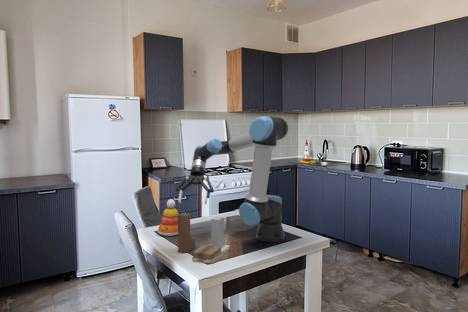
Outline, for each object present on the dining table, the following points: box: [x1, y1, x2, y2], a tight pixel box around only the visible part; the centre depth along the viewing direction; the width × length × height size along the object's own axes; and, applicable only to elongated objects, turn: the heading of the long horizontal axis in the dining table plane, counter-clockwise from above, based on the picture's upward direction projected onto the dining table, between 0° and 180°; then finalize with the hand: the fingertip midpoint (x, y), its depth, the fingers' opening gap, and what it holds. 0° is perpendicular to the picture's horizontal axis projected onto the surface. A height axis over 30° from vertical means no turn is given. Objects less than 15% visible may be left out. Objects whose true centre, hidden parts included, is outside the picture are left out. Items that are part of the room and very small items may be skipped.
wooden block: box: [177, 212, 196, 254], centre depth 169 cm, size 9×4×18 cm, turn 156°
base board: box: [191, 242, 231, 265], centre depth 163 cm, size 10×21×4 cm, turn 161°
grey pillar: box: [210, 215, 225, 247], centre depth 169 cm, size 4×6×14 cm, turn 161°
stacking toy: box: [156, 198, 179, 237], centre depth 196 cm, size 14×14×20 cm
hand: (192, 202), depth 181 cm, fingers open, 13 cm apart
